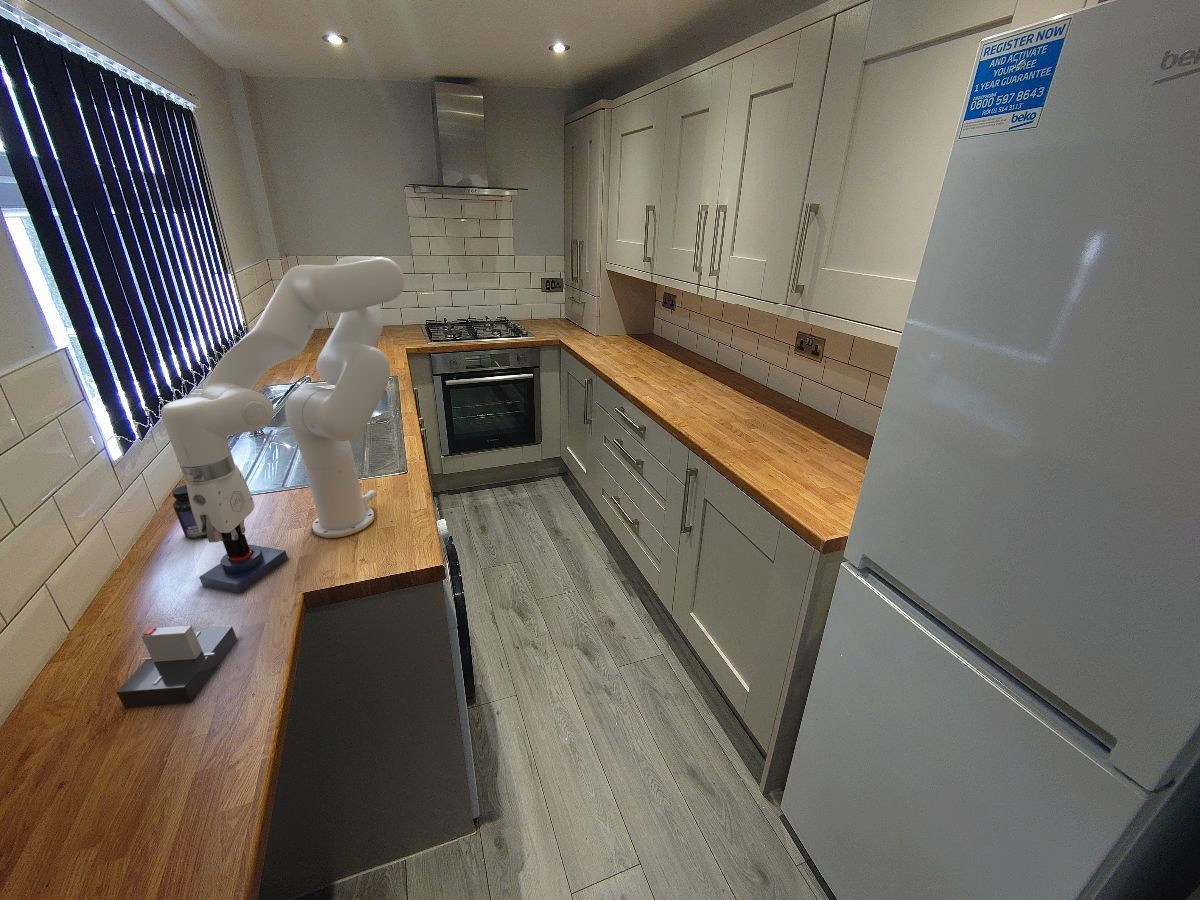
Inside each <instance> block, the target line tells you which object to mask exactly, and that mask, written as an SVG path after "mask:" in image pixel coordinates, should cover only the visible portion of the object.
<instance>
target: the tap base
mask: <svg viewBox="0 0 1200 900" xmlns="http://www.w3.org/2000/svg"><path fill="white" fill-rule="evenodd" d="M193 630H194V632H195V635H196V637H197V639H198V642H199V644H200V646H201V649H202V652H201V653H200V655H199V656H198V657H197V658H196V659H189V660H175V661H161V662H153V660H152V658H151V656H150V655H149V656H147V657H142V658H141V661H143V663H141V665H140V666H139V667H138V668H137V669H136V670H135V671H134V673H132V674H131V675H130V677H129V678H128V679H127V680H126V681H125V682H124V683H123V685H122V686H121V687H120V688H119V689H118V690H117V691H116V695H117V697H118V699H119V701H120V702H121V704H122V706H123V708H125V709H126V708H137V707H138V708H139V707H151V706H162V705H163V706H165V705H176V704H177V705H178V704H189V703H190V704H191V703H193V701H194V700H195V698H196V697H197V696H198V694H199V693H200V691H202V689H203V688H204V687H205V685H206V684H207V682H209V680H210V679H211V677H212V676H213V675H214V673H215V671H216V670H218V668H219V666H220V665H221V663H222V662H223V661H224V659H225V658H226V657H227V656H228V654H229V653H230V651H231V650H232V649H233V648H234V646H235V645H236V644H237V642H238V638H237V635H236V632H235V630H234V627H233V625H232V626H219V627H201V628H193Z"/></svg>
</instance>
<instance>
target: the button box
mask: <svg viewBox="0 0 1200 900" xmlns="http://www.w3.org/2000/svg"><path fill="white" fill-rule="evenodd" d="M248 546H249V549H250V550H251V551H252V554H253V555H252V556H251V557H249V558H248V559H245V560H242V561H239V562H231V561H230V558H229V557H228V555H227V553H226V554H224V555H223V556H222V557H221V559H220V561H219V562H220V563H218V564H217V565H215V566H214V567H212V568H211V569H209V570H208V571H206V572H204V573H203V574H201V575H200V576H199V577H198V578H199V581H200V583H201V585H202V587H204V588H209V589H215V590H219V591H225V592H228V593H232V594H233V593H234V594H239V595H241V594H243V593H244V592H245V591H247V590H249V588H251V587H252V586H254V585H255V584H256V583H258V582H259V581H261V580H262V579H263V578H265V577H266V576H268V575H269V574H271V573H272V572H273V571H274V570H276V569H277V568H278V567H280V566H281V565H282V564H284V563H285V562H287V561H288V560H289V558H288V554H287V551H286V550H284V549H279V548H274V547H269V546H261V545H256V544H251V543H248Z"/></svg>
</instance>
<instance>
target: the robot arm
mask: <svg viewBox="0 0 1200 900" xmlns="http://www.w3.org/2000/svg"><path fill="white" fill-rule="evenodd" d="M405 282H406V281H405V275H404V272H403V270H402V268H401V267H400V266H399V264H397V262H396V261H394V260H393V259H390V258H387V257H384V256H367V255H365V256H364V255H347V256H344V257H340V259H338V260H337V261H336V262H335V263H334V264H332V265H325V264H324V265H322V264H298V265H295V266H293V267H291V268H289V269H288V271H286V273H285V274H284V275H283V278H282V279H281V281H280V282H279V284H278V286H277V288H276V290H274V293H273V294H272V296H271V298H270V300H269V302H268V303H267V305H266V306H265V308H264V310H263V312H262V313H261V315H260V317H259V319H258V320H257V322H256V324H255V325H254V326H253V328H252V329H251V330H250V331H249V332H247V334H245V335H244V336H243V337H242V338H240V339H239V341H238V342H237V343H235V344H234V345H232V347H231V348H230V349H229V350H228V351H226V353H225V354H224V355H223V356H222V357H221V358H220V359H219V361H218V362H217V363H216V365H215V367H214V368H213V370H212V371H211V373H210V374H209V377H208V378H207V380H206V382H205V384H204V385H203V387H202V390H201V393H200V395H199V396H192V397H184V398H179V399H175V400H173V401H170V402H167V403H166V404H164V405H163V406H162V407H161V409H160V417H161V420H162V423H163V425H164V427H165V431H166V433H167V436H168V438H169V441H170V444H171V446H172V449H173V451H174V454H175V457H176V460H177V463H178V465H179V467H180V470H181V473H182V474H183V479H184V481H185V483H186V485H187V491H188V496H189V501H190V505H191V509H192V512H193V515H194V518H195V521H196V524H197V526H198V528H199V530H200V532H201V533H202V534H207V541H208V543H219V542H222V544H223V546H224V549H225V552H226V554H227V555H228V557H241V556H246V555H247V553H248V552H249V551H250V549H249V546H248V545H249V543H248V541H247V537H246V535H245V532H246V526H245V519H246V518H247V517H248V516H249V515H251V514H252V512H253V511H254V509H255V501H254V498H253V496H252V494H251V493H252V492H251V490H250V488H249V486H248V483H247V481H246V479H245V477H244V475H243V473H242V471H241V470H240V468H239V467H238V465H237V464H235V461H234V458H233V455H232V451H231V449H230V445H229V442H228V440H227V436H231V435H238V434H244V433H251V432H255V431H258V430H260V429H262V428H265V427H266V426H267V425H269V424H270V423H271V421H272V420H273V417H274V414H275V408H274V404H273V402H272V401H271V400H270V398H268V396H266V395H265V394H263V393H262V392H259V391H257V390H253V389H254V388H255V386H256V384H257V383H258V381H259V380H260V378H262V377H263V376H264V375H265V373H266V372H268V371H269V370H270V369H272V368H273V367H274V366H276V365H279V364H281V363H283V362H286V361H288V360H291V359H293V358H295V357H297V356H298V355H300V354H301V353H302V352H303V351H304V349H305V348H306V346H307V344H308V343H309V341H310V338H311V337H312V335H313V333H314V331H315V329H316V328H317V326H318V324H319V322H320V320H321V319H322V317H323V316H324V314H325V313H328V314H340V315H339V318H338V320H337V322H336V324H335V326H334V328H333V330H332V331H331V334H330V335H329V337H328V339H327V341H326V343H325V344H324V346H323V347H322V349H321V351H320V353H319V355H318V357H317V360H316V364H315V368H316V369H315V370H316V373H317V375H318V376H319V377H320V378H321V380H323V381H324V382H326V383H328V384H330V385H333V386H334V388H333V389H331V388H325V387H323V386H322V387H321V386H317V385H316V386H315V385H307V386H305V385H304V386H301V387H299V388H297V389H295V390H294V391H292V392H291V393H290V394H289V395H288V397H287V399H286V401H285V404H284V414H285V419H286V422H287V424H288V427H289V428H290V431H291V433H292V435H293V437H294V439H295V443H296V444H297V446H298V450H299V453H300V456H301V460H302V463H303V467H304V468H303V469H304V471H305V476H306V478H307V482H308V486H309V490H310V493H311V497H312V501H313V504H314V508H315V511H316V514H317V518H315V520H314V521H313V523H312V531H313V533H314V534H315V535H317V537H321V538H327V539H333V538H334V539H336V538H342V537H347V536H351V535H354V534H357V533H358V532H360V531H361V532H362V531H363V530H364V529H367V527H369V526H370V525H371V524H372V522H373V521H374V519H375V513H374V510H373V509H372V507H369V505H368V504H369V503H370V501H372V500H373V499H374V498H376V497H377V496H378V494H377V491H376V490H374V489H370V490H369V491H367V492H366V493H365V494H364V493H363V492H362V489H361V484H360V481H359V476H358V472H357V471H358V470H357V467H356V463H355V459H354V454H353V449H352V446H351V442H350V441H353V440H354V439H356V438H358V436H359V435H361V434H362V433H363V431H364V430H365V428H366V427H367V426H368V424H369V422H370V420H371V419H372V416H373V414H374V413H375V410H376V408H377V406H378V404H380V403H379V402H380V401H381V398H382V396H383V395H384V393H385V391H386V388H387V386H388V385H389V381H390V376H391V366H390V362H389V359H388V357H387V355H386V354H385V353H384V352H383V351H381V350H380V349H379V348H377V344H378V343H379V340H380V338H381V336H382V332H383V329H384V318H383V312H382V308H381V306H380V305H382V304H385V303H389V302H391V301H393V300H396V299H397V298H398V297H400V295H401V294H402V292H403V290H404V287H405Z"/></svg>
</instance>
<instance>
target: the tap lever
mask: <svg viewBox="0 0 1200 900" xmlns="http://www.w3.org/2000/svg"><path fill="white" fill-rule="evenodd" d="M193 629H194V628H193V626H192V625H179V626H178V625H176V626H164V627H156V626H152V627H151V626H150V627H148V628H146V630H145V631H144V632H143V633H142V635H140V637H141V639H142V641H143V643H144V645H145V647H146V649H147V651H148V654H149V656H151V658H152V660H153V662H161V661H175V660H189V659H196V658H197V657H198V656H199V655H200V653H201V652H202V649H201V646H200V644H199V642H198V639H197V637H196V635H195V632H194V630H193Z"/></svg>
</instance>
